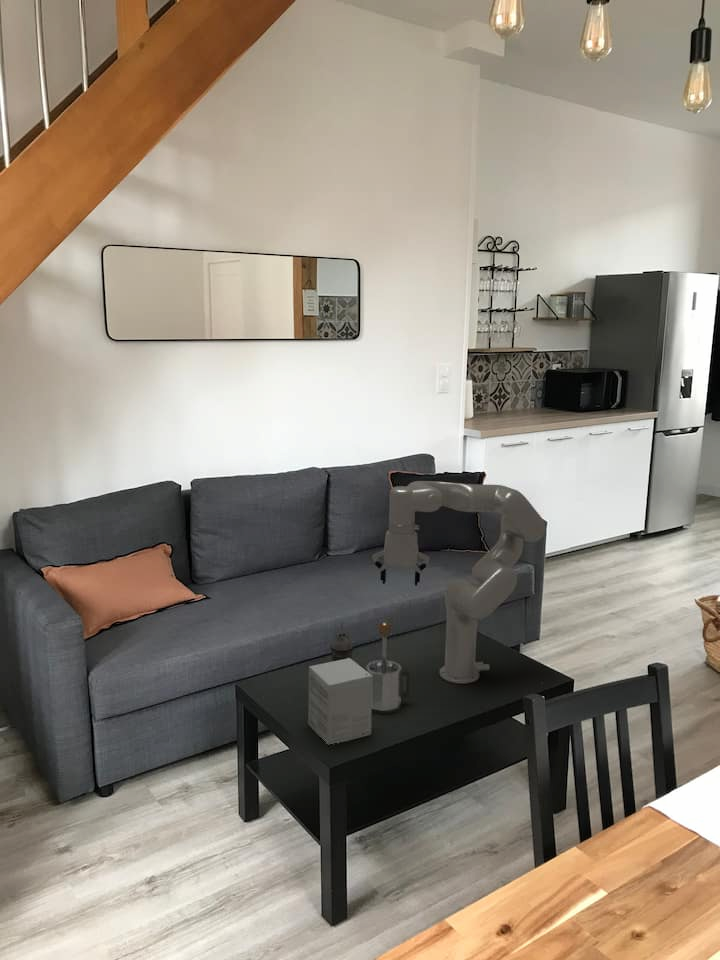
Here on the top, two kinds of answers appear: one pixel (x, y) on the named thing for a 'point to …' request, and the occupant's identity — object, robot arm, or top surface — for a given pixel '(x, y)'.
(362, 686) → the supplement box
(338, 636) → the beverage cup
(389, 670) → the plunger
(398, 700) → the carafe
